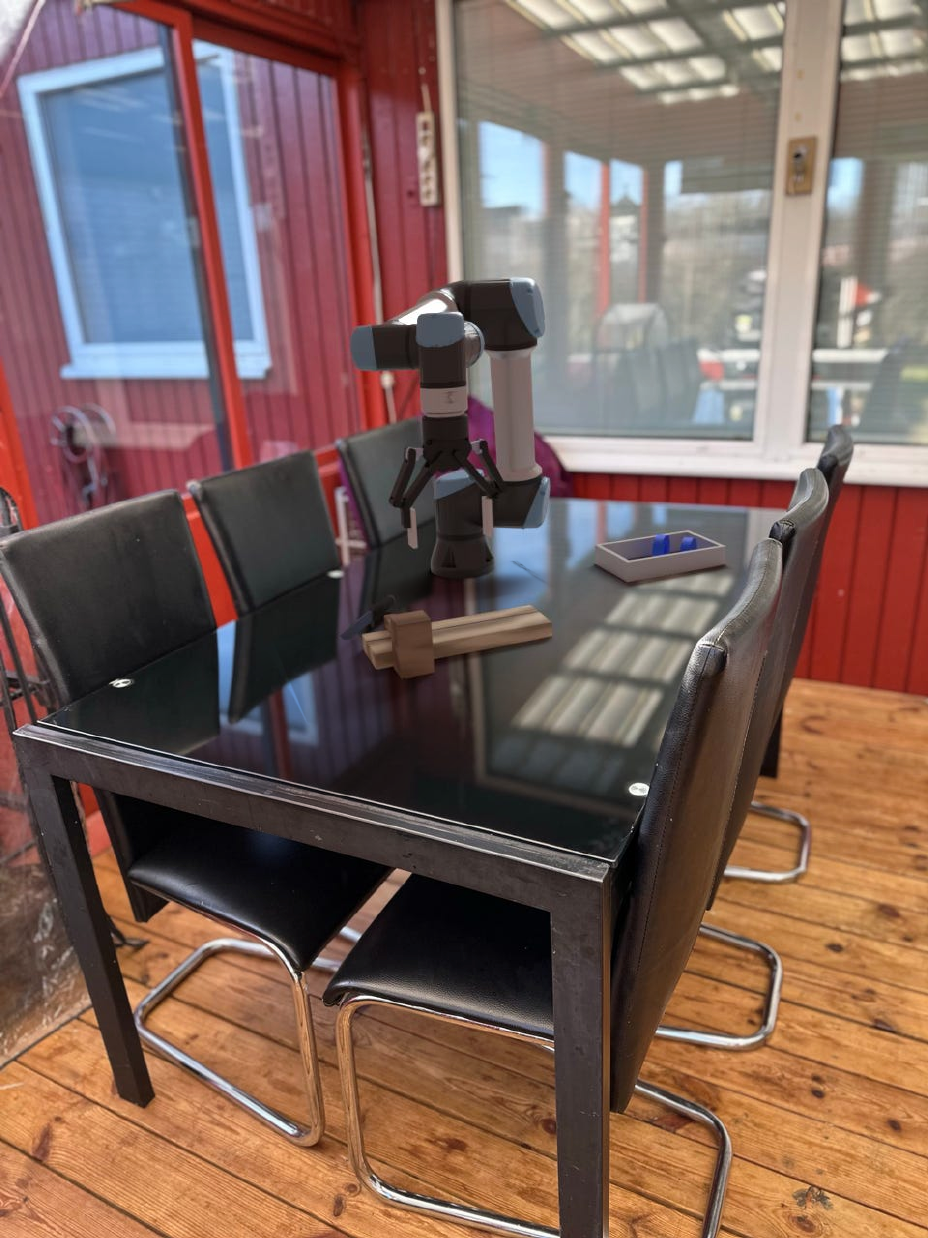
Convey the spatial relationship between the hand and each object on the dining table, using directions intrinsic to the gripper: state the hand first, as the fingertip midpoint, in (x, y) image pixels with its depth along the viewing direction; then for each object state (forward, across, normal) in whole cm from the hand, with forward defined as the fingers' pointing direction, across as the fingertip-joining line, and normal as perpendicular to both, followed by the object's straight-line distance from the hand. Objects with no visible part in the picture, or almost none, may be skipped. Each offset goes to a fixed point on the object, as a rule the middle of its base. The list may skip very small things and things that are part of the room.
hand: (451, 540), depth 150 cm
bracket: (+24, +68, +32) cm, 79 cm away
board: (+22, +3, +8) cm, 24 cm away
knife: (+22, -11, +21) cm, 33 cm away
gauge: (+22, -8, 0) cm, 24 cm away
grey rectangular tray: (+22, +61, +30) cm, 71 cm away
